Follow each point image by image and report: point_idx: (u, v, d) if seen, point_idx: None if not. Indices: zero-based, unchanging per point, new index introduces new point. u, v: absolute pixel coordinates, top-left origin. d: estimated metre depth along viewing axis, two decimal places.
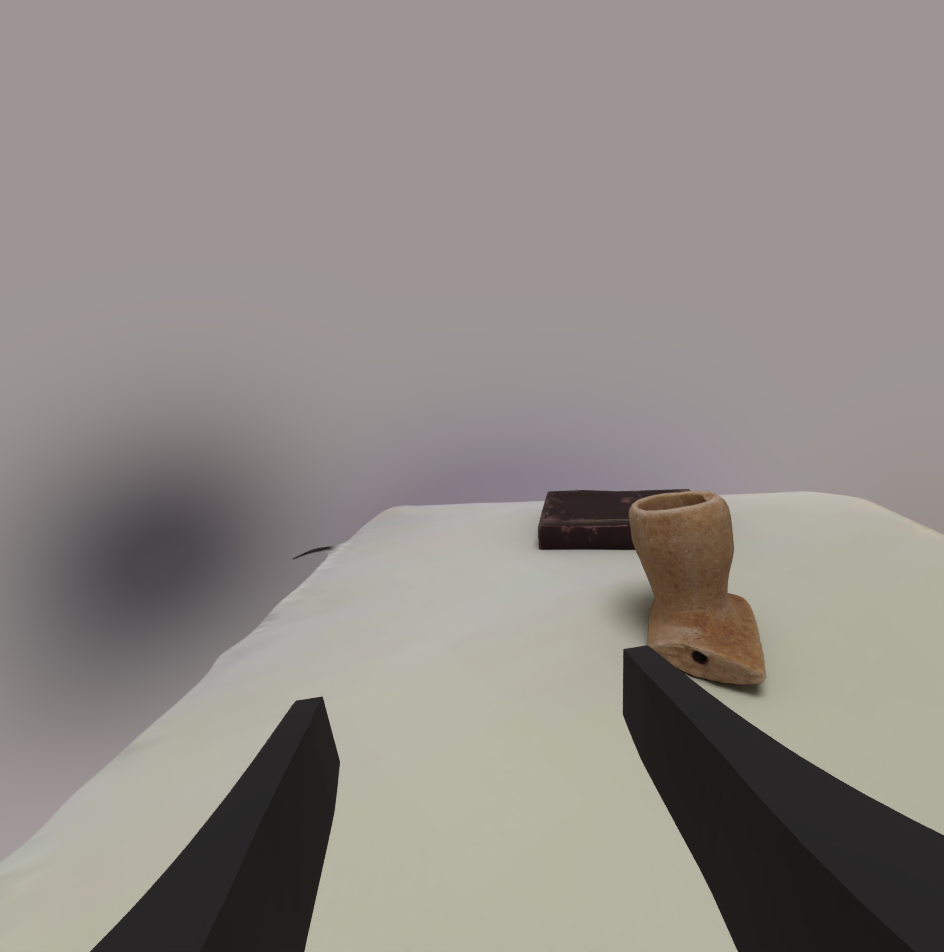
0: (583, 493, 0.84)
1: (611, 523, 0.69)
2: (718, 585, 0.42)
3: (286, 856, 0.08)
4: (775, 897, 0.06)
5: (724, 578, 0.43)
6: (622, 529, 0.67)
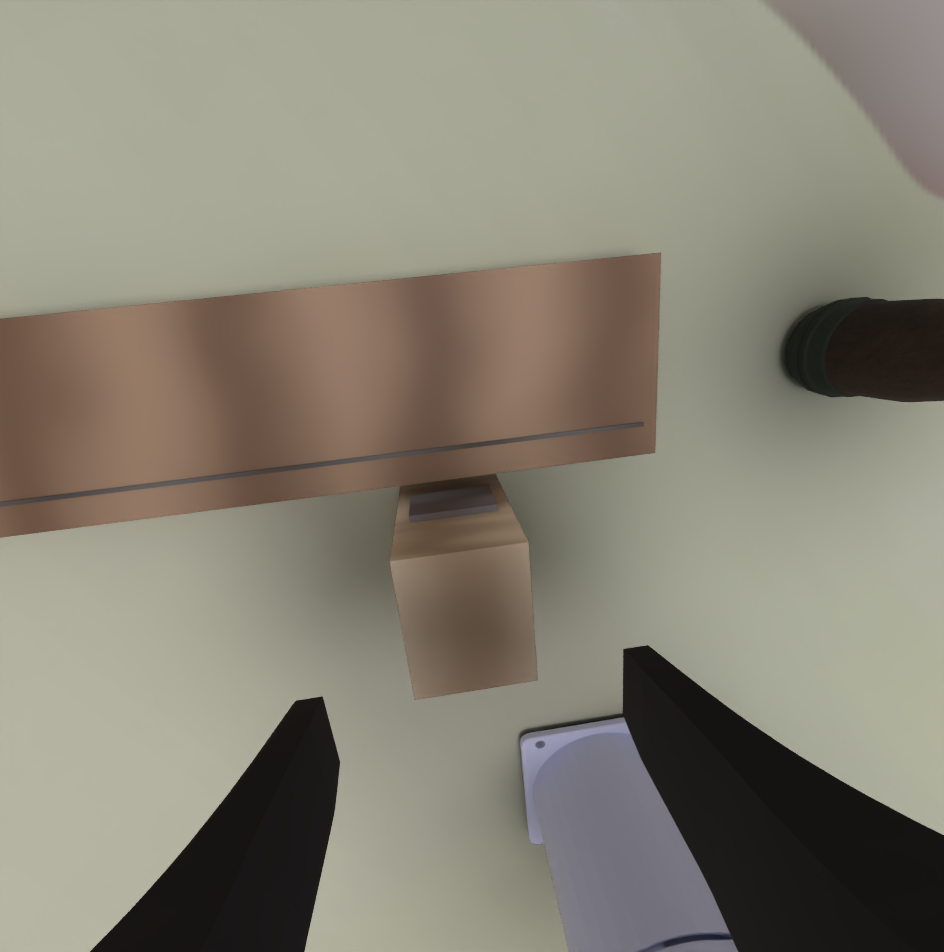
0: None
1: None
2: None
3: (286, 856, 0.08)
4: (775, 897, 0.06)
5: None
6: None
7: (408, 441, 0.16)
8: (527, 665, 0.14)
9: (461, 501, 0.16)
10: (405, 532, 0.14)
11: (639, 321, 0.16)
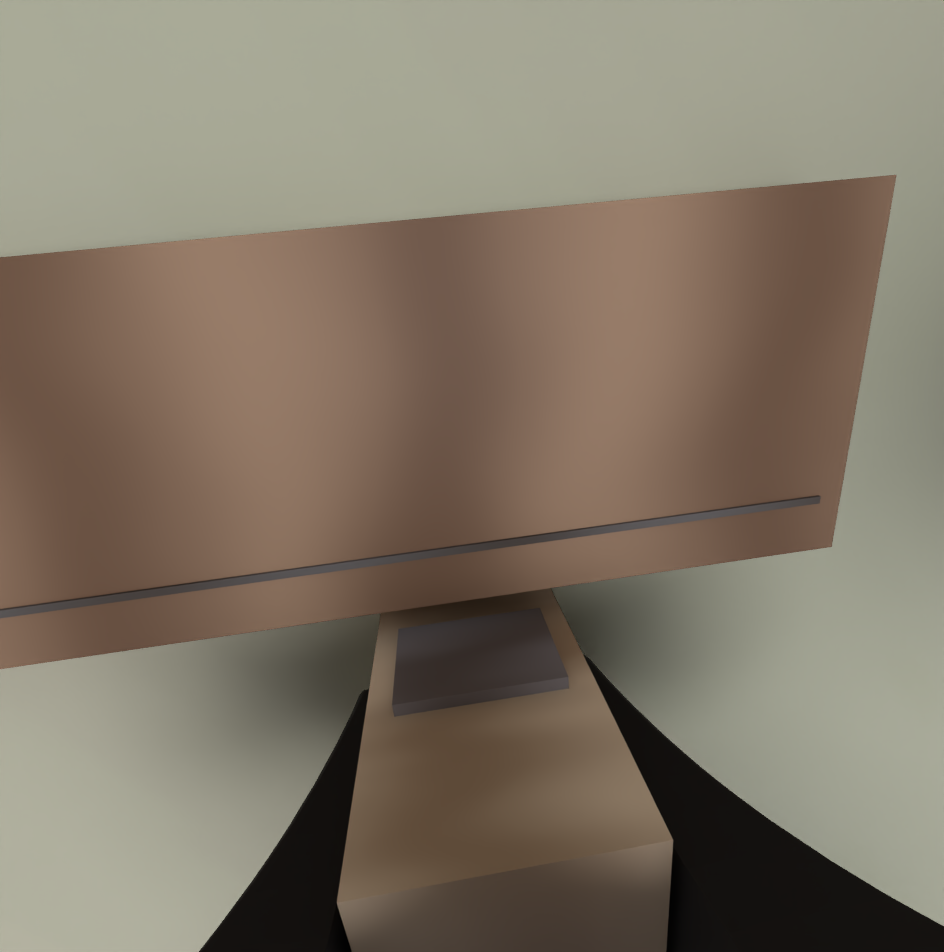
0: None
1: None
2: None
3: None
4: (671, 918, 0.06)
5: None
6: None
7: (393, 537, 0.09)
8: None
9: (494, 658, 0.08)
10: (383, 755, 0.07)
11: (836, 313, 0.08)
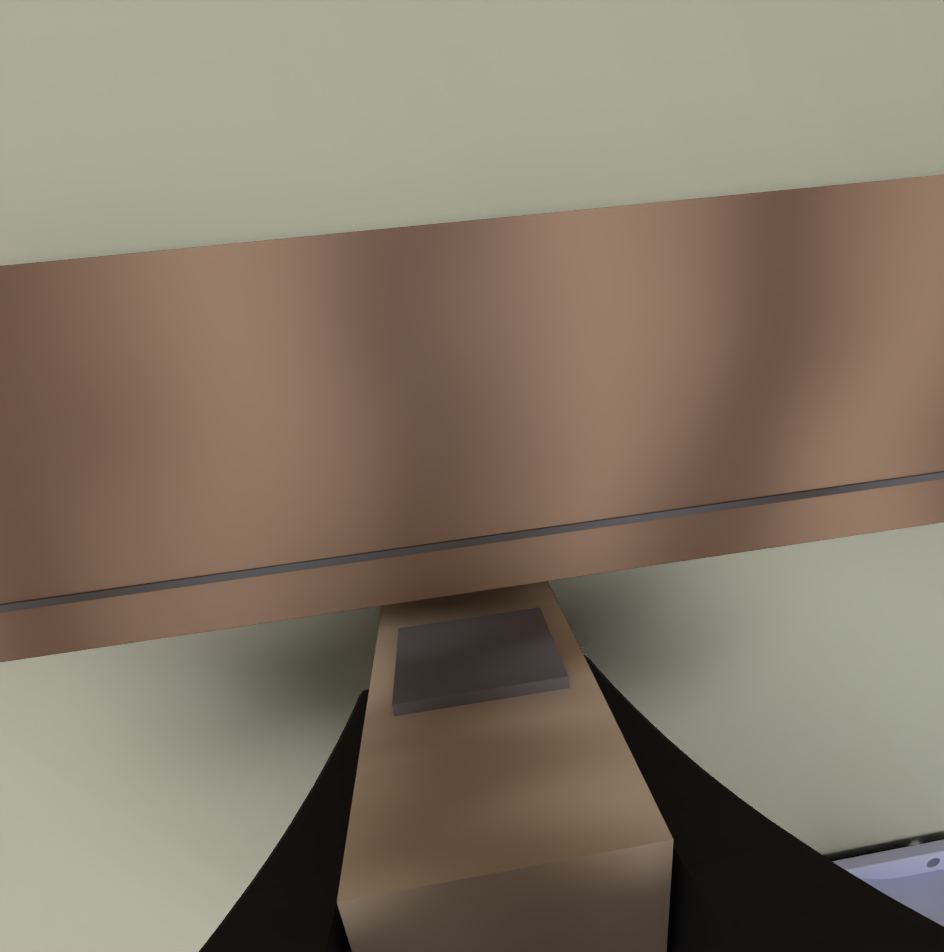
0: None
1: None
2: None
3: None
4: (671, 918, 0.06)
5: None
6: None
7: (690, 491, 0.09)
8: None
9: (494, 658, 0.08)
10: (383, 755, 0.07)
11: None
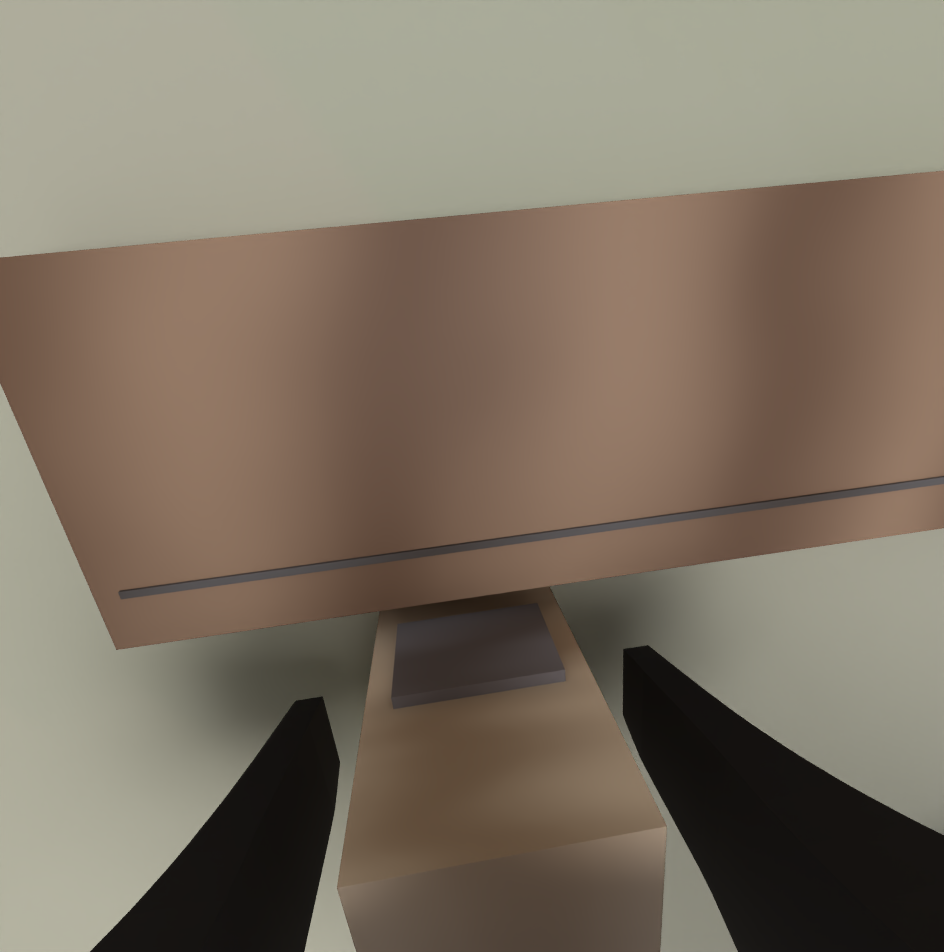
0: None
1: None
2: None
3: (286, 856, 0.08)
4: (775, 897, 0.06)
5: None
6: None
7: None
8: None
9: (492, 652, 0.08)
10: (382, 746, 0.07)
11: None
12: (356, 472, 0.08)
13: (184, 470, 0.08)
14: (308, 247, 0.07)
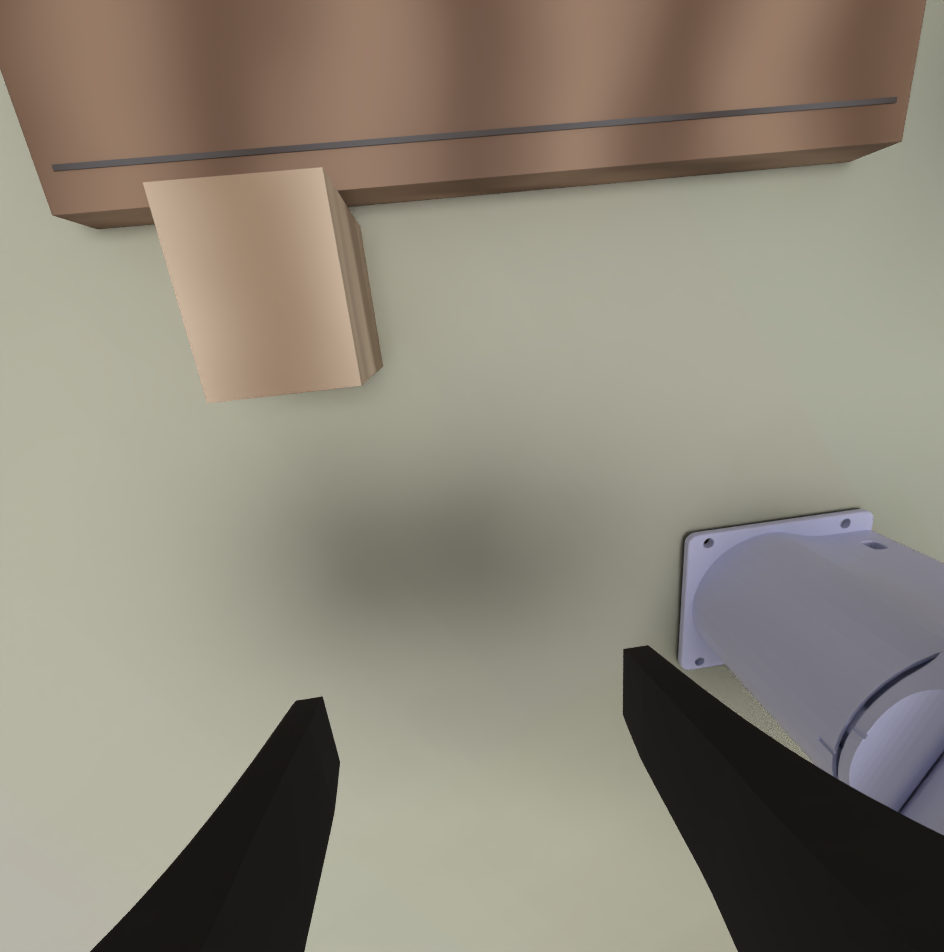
0: None
1: None
2: None
3: (286, 856, 0.08)
4: (775, 897, 0.06)
5: None
6: None
7: (644, 104, 0.14)
8: (344, 361, 0.12)
9: None
10: None
11: None
12: (200, 82, 0.13)
13: (89, 71, 0.13)
14: None
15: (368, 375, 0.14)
